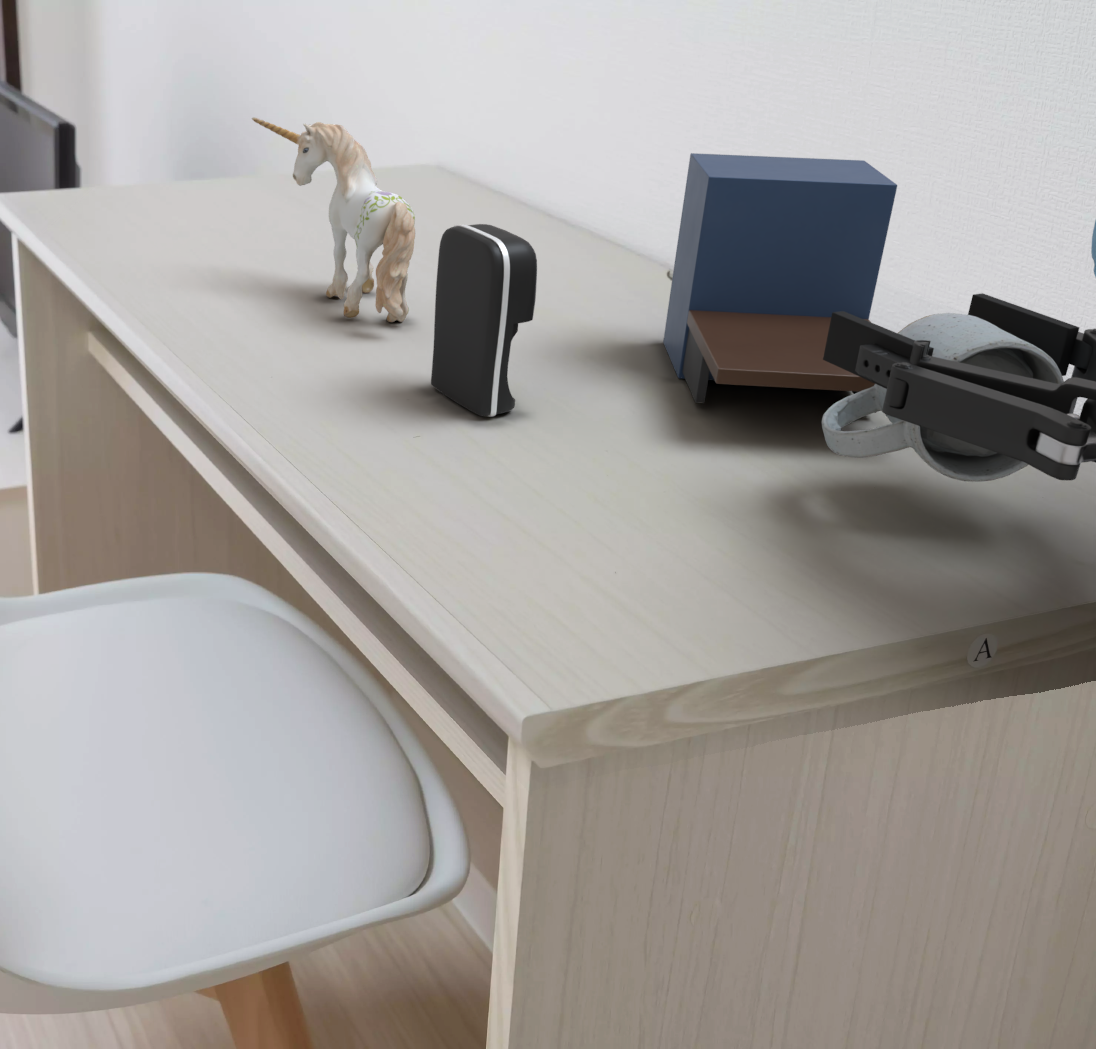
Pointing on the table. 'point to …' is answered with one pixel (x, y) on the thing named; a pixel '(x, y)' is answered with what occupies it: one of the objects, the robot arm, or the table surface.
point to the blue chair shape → (773, 268)
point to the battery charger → (480, 313)
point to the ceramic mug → (943, 453)
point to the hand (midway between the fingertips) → (904, 325)
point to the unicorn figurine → (358, 217)
